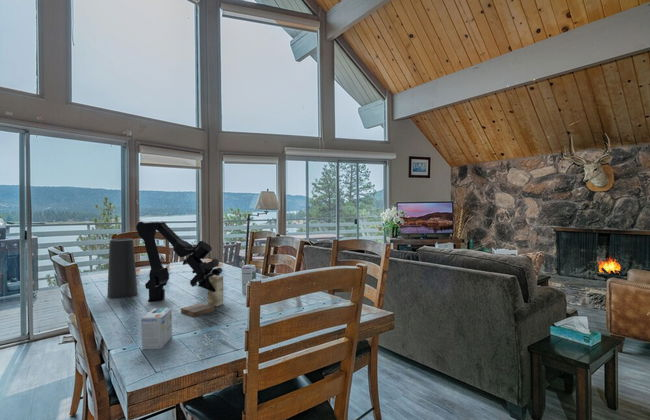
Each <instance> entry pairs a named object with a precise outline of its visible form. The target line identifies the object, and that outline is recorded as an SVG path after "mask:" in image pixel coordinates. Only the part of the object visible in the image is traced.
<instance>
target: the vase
mask: <svg viewBox="0 0 650 420" xmlns="http://www.w3.org/2000/svg"><path fill="white" fill-rule="evenodd" d="M108 245H109V248H108V249H109V250H108V266H107V267H108V273H107V274H108V276H107V290H106V291H107V298H108V297H109V298H108V299H114V298H116V299H125V297H126V298H130V297H134V296H136V295H138V281H137V270H136V269H137V268H136V258H135V244H134V239H133V238H129V237H128V238H127V237H126V238H113V239H110V240H109V244H108Z"/></svg>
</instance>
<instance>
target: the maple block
mask: <svg viewBox="0 0 650 420" xmlns="http://www.w3.org/2000/svg"><path fill="white" fill-rule="evenodd" d="M209 281H210V283H211V284H212V286H213V287H214V289H215V290H216V291H215V292H212V291H210V290H207V305H210V306H214V307H218V306H221V305H223V304H224V275H219V276H216V275H213V276H211V277H209Z"/></svg>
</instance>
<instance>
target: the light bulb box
mask: <svg viewBox="0 0 650 420" xmlns="http://www.w3.org/2000/svg"><path fill="white" fill-rule="evenodd" d="M172 313H173V308H172V307H160V308H159V307H158V308H157V307H156V308H155V307H154V308H152V309H151V310H150V311H148V312H147V313H146V314H145V315H144V316H142V317H141V318H140V326H141V328H140V330H141V332H140V333H141V350H162V349H163V348H164V347H165V345H166V344H167V343H168V342H169V341H170V340H171V338H173V317H172V315H173V314H172Z"/></svg>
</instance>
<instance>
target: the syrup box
mask: <svg viewBox="0 0 650 420" xmlns="http://www.w3.org/2000/svg"><path fill="white" fill-rule="evenodd" d="M253 279H256V280H257V268H256V264H245V265H243V266H241V294H243V293H244V294H245V295H247V294H246V284H247V283H248V281H250V280H253Z"/></svg>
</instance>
